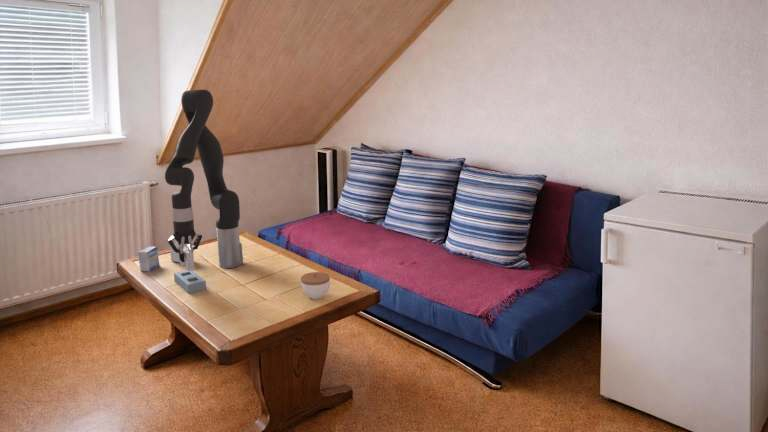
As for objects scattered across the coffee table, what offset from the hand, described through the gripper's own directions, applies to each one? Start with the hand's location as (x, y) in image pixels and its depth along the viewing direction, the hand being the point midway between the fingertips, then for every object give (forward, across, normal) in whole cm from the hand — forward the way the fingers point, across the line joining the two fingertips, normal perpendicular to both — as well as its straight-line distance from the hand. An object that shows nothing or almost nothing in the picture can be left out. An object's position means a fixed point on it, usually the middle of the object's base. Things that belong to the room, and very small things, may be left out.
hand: (186, 260), depth 246 cm
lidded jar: (+10, -35, +40) cm, 54 cm away
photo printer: (+10, -7, -29) cm, 32 cm away
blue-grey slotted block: (+10, 0, 0) cm, 10 cm away
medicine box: (+11, +7, -29) cm, 31 cm away
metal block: (+3, 0, 0) cm, 3 cm away
